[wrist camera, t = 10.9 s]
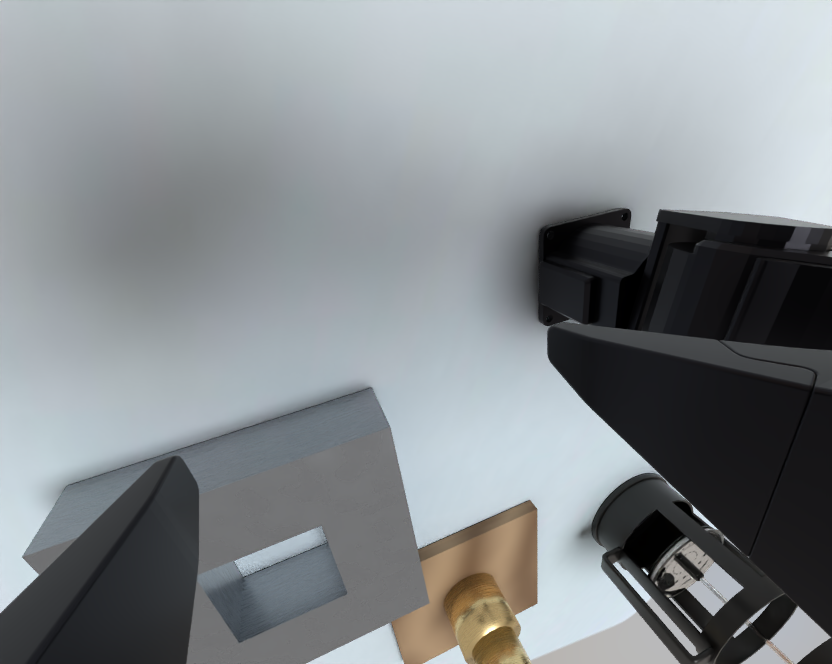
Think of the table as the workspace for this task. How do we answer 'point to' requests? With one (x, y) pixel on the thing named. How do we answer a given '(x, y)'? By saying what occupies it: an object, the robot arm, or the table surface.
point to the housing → (281, 533)
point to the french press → (689, 575)
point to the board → (462, 557)
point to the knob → (484, 622)
